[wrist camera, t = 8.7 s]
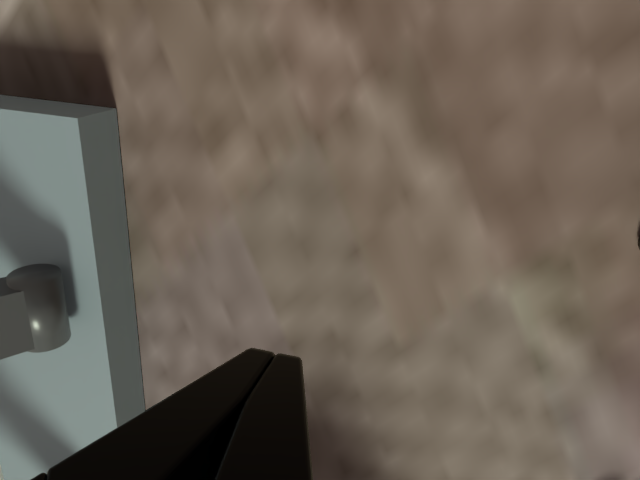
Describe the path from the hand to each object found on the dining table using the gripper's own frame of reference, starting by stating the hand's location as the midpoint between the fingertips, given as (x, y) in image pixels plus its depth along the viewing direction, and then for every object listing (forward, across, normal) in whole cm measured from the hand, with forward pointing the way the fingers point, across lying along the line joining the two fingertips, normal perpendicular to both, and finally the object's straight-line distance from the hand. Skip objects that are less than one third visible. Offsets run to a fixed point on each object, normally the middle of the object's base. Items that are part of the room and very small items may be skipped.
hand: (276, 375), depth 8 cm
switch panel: (+13, +16, +14) cm, 25 cm away
